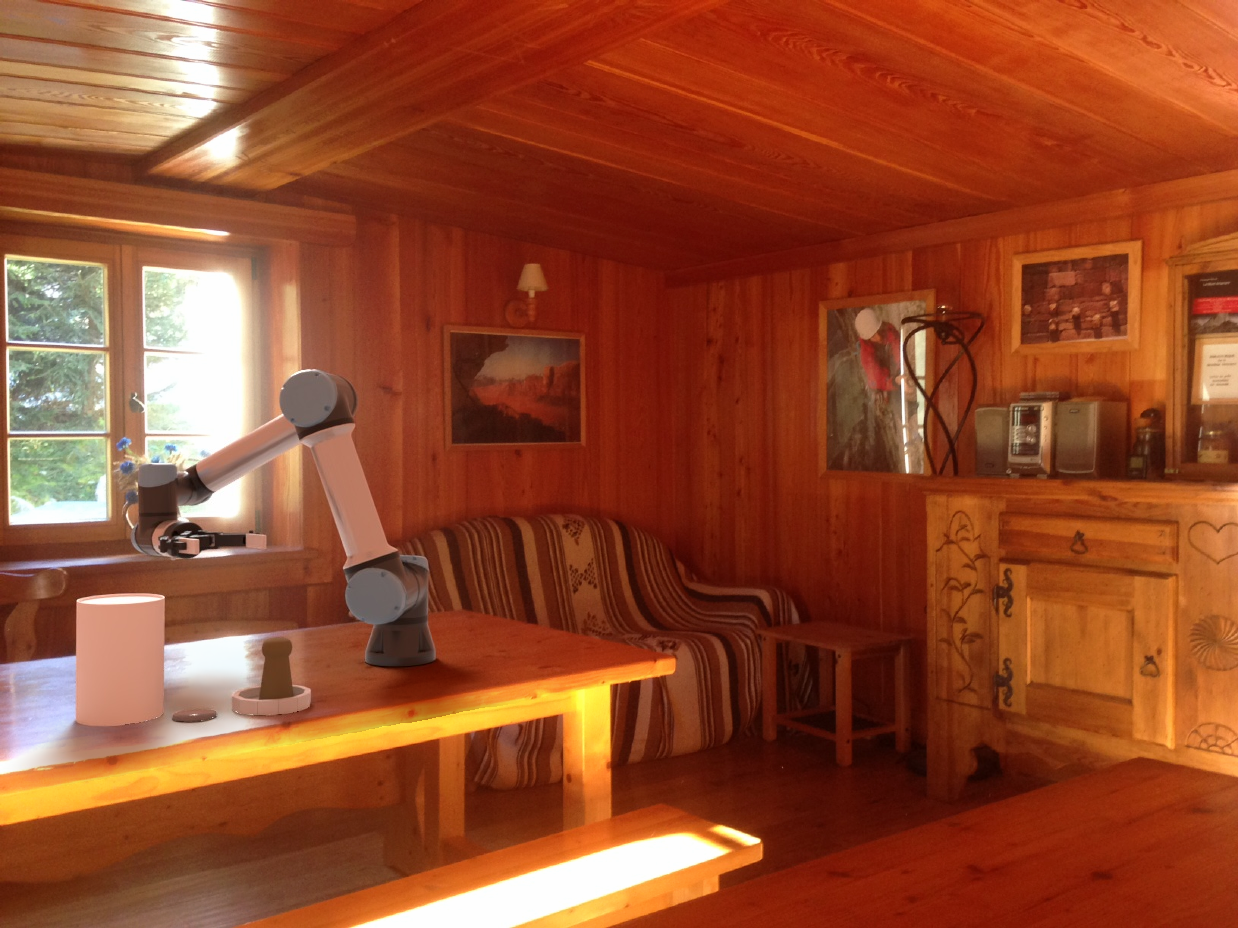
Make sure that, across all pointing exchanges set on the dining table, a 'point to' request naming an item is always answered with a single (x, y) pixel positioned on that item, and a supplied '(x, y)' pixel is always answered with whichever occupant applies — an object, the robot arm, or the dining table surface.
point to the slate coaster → (194, 715)
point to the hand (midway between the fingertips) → (231, 544)
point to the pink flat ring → (270, 701)
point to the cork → (276, 669)
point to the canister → (119, 659)
